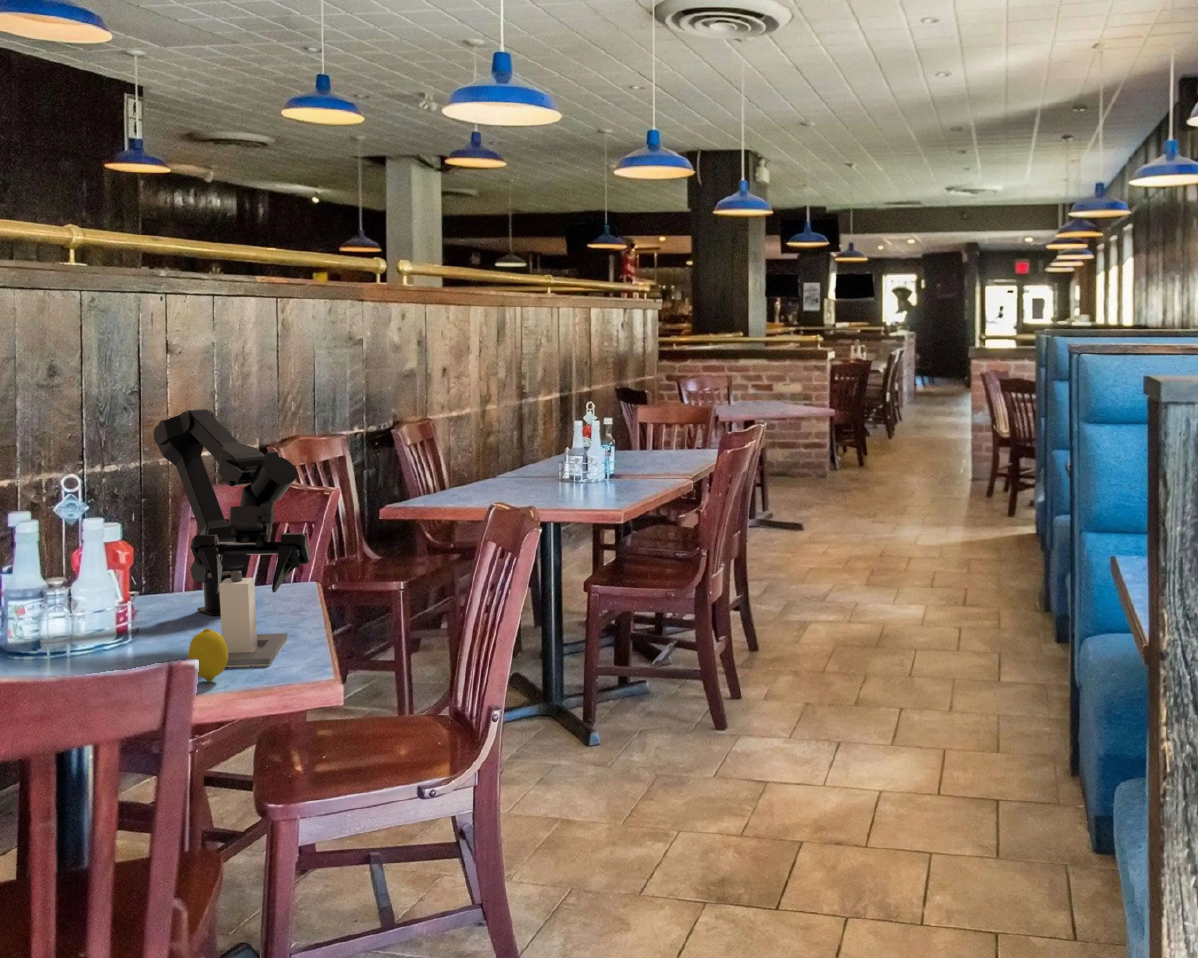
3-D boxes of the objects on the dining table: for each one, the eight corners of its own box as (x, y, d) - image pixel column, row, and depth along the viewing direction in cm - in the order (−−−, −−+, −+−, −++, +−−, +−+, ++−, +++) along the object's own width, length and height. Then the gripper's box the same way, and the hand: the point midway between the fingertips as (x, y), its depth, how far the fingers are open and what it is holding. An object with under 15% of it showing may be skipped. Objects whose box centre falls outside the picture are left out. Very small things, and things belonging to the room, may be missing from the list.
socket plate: (213, 642, 204) (213, 635, 204) (287, 640, 205) (287, 633, 205) (189, 668, 188) (189, 661, 188) (269, 665, 189) (269, 658, 189)
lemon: (237, 677, 183) (234, 625, 182) (213, 688, 178) (211, 633, 177) (205, 675, 185) (202, 622, 184) (181, 685, 180) (178, 631, 179)
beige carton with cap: (229, 648, 199) (225, 569, 197) (257, 647, 199) (253, 568, 198) (222, 656, 194) (218, 575, 193) (251, 655, 194) (247, 574, 193)
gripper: (190, 487, 205) (176, 565, 196) (304, 485, 207) (295, 563, 197) (204, 526, 214) (191, 602, 205) (313, 524, 215) (305, 600, 206)
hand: (245, 591), depth 203 cm, fingers open, 9 cm apart
